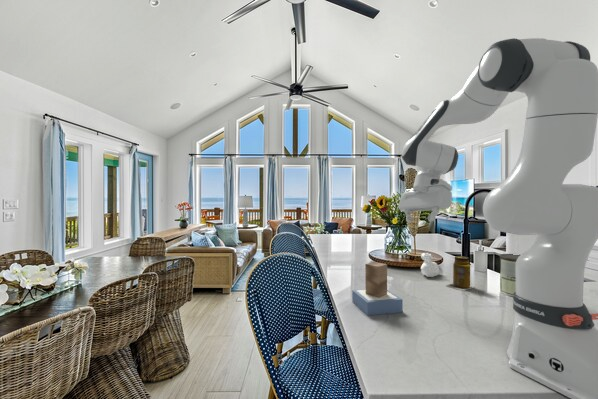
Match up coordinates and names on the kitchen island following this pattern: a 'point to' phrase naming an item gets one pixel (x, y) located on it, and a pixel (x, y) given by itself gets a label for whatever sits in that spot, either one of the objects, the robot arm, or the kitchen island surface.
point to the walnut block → (376, 279)
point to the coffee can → (508, 274)
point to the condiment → (461, 273)
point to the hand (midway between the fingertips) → (419, 220)
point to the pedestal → (377, 302)
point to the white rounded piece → (429, 266)
